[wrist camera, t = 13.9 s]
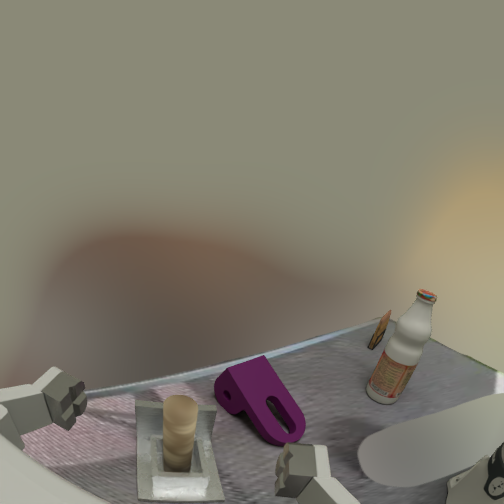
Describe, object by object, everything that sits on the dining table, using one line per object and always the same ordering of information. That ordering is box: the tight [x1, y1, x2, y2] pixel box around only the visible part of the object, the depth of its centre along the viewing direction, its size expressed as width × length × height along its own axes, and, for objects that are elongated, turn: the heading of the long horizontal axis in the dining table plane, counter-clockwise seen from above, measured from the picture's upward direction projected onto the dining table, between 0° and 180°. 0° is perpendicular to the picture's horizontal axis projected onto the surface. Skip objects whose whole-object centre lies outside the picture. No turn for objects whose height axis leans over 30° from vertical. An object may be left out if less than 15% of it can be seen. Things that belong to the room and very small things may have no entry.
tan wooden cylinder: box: [163, 395, 198, 473], centre depth 30 cm, size 4×4×15 cm
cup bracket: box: [135, 400, 225, 503], centre depth 32 cm, size 12×13×9 cm
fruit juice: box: [366, 289, 437, 404], centre depth 57 cm, size 9×9×28 cm
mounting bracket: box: [214, 355, 306, 446], centre depth 49 cm, size 10×8×18 cm
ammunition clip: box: [368, 310, 391, 350], centre depth 86 cm, size 11×2×12 cm, turn 138°
